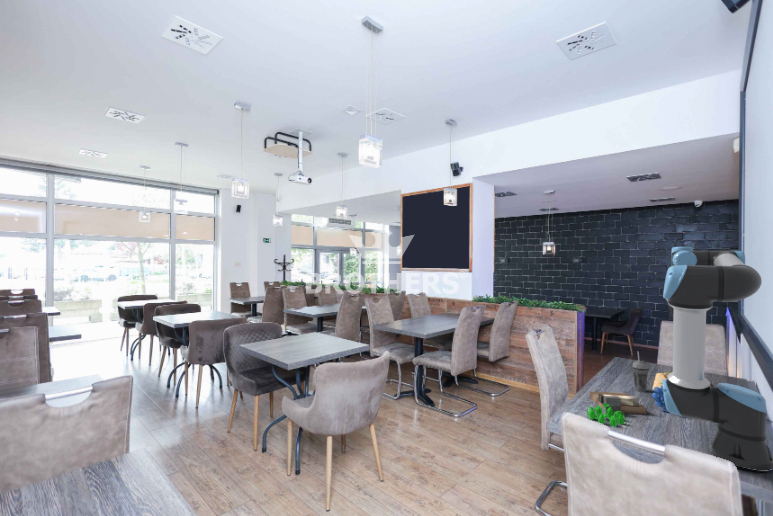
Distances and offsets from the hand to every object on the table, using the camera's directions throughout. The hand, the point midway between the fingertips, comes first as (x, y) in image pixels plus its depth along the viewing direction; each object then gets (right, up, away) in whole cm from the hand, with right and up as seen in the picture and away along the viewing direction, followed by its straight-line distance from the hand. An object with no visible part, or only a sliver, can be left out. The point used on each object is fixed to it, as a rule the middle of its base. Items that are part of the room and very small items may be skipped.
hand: (681, 335), depth 163 cm
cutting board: (+27, -35, +33) cm, 56 cm away
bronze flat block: (-24, -34, +8) cm, 43 cm away
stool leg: (-26, -31, +3) cm, 41 cm away
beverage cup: (+1, -35, +28) cm, 45 cm away
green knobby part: (-38, -35, -8) cm, 52 cm away
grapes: (-6, -35, 0) cm, 35 cm away
